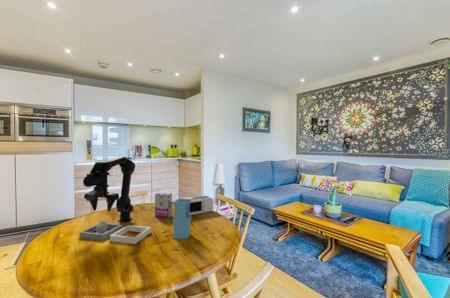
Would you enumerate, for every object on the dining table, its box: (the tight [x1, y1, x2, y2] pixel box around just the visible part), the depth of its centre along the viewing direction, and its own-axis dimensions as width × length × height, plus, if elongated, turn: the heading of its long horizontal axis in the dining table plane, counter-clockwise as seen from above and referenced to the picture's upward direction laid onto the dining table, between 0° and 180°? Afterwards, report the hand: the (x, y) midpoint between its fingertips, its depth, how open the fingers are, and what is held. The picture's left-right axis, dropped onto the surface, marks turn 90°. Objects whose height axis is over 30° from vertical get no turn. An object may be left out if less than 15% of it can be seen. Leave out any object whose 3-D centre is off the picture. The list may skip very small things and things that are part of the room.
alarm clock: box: [179, 195, 214, 216], centre depth 161 cm, size 27×9×12 cm, turn 120°
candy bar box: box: [154, 192, 173, 219], centre depth 153 cm, size 11×5×16 cm, turn 73°
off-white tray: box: [109, 224, 152, 245], centre depth 119 cm, size 15×15×3 cm
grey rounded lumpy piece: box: [95, 220, 108, 234], centre depth 123 cm, size 6×7×7 cm
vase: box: [172, 198, 192, 240], centre depth 121 cm, size 8×8×20 cm
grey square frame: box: [79, 222, 123, 241], centre depth 123 cm, size 15×15×3 cm
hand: (101, 211), depth 123 cm, fingers open, 9 cm apart
